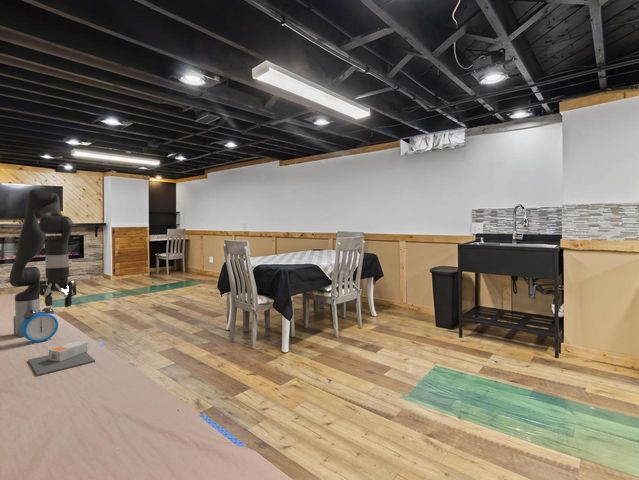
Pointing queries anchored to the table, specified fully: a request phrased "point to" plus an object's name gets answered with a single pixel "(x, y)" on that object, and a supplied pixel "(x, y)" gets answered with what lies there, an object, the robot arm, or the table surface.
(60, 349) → the skincare box
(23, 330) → the alarm clock
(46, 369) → the rubber mat
